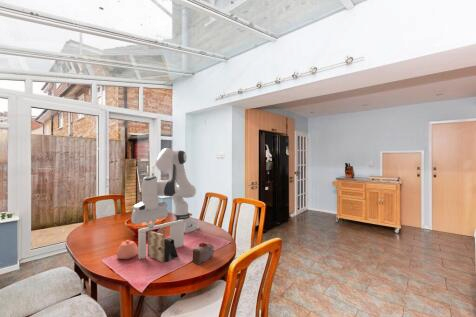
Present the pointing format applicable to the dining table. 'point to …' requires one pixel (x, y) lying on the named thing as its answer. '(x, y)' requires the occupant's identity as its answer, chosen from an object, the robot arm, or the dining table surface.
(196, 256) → the dark grey block
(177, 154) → the robot arm
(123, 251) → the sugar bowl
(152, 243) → the door
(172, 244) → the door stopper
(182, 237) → the wall frame
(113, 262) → the dining table surface
